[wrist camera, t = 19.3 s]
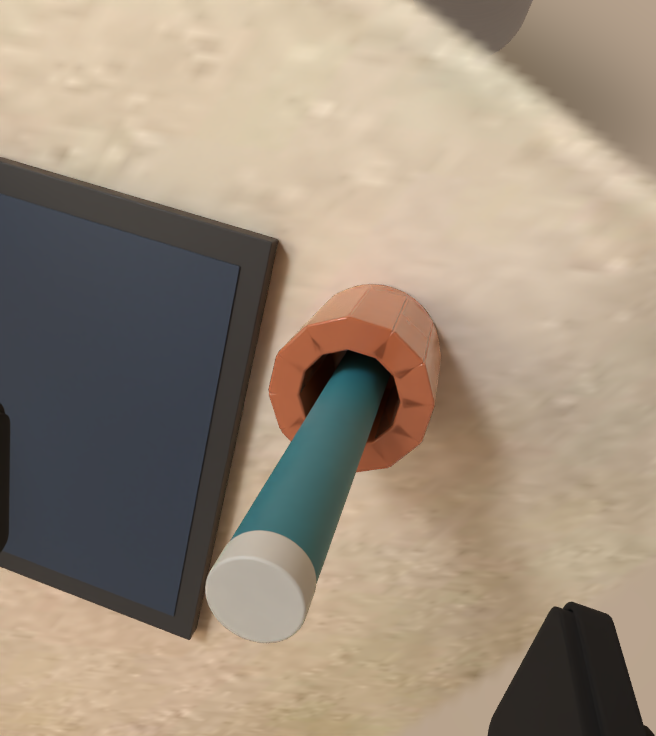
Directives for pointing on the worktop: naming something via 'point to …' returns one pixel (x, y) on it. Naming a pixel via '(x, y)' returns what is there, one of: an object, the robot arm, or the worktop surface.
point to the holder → (372, 338)
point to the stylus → (297, 511)
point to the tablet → (121, 388)
